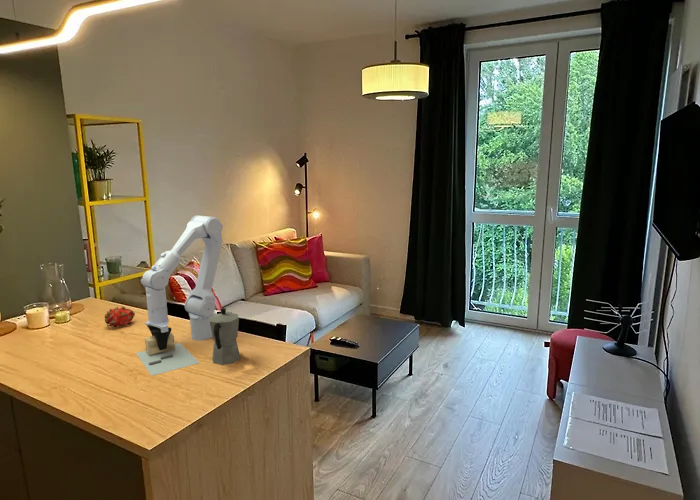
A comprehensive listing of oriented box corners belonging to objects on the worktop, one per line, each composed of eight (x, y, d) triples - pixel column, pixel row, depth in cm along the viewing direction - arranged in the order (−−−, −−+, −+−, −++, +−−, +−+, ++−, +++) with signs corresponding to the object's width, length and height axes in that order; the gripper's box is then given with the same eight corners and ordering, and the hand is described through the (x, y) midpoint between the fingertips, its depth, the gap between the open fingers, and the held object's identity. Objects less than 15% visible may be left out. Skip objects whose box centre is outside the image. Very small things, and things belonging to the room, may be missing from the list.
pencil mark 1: (160, 361, 140) (160, 359, 140) (161, 362, 139) (161, 360, 139) (148, 364, 138) (148, 362, 138) (149, 365, 137) (149, 363, 137)
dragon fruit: (102, 334, 171) (133, 329, 180) (112, 325, 166) (143, 320, 176) (96, 314, 173) (127, 310, 183) (106, 304, 169) (137, 301, 179)
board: (180, 346, 155) (179, 342, 155) (200, 367, 139) (199, 362, 139) (136, 357, 147) (135, 353, 146) (152, 380, 131) (151, 375, 131)
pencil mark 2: (172, 355, 144) (172, 354, 144) (173, 356, 143) (172, 355, 143) (160, 358, 142) (160, 357, 142) (161, 359, 141) (161, 358, 141)
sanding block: (171, 346, 152) (170, 332, 151) (175, 350, 148) (173, 335, 148) (146, 352, 147) (144, 337, 146) (149, 356, 144) (147, 341, 143)
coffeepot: (217, 354, 149) (214, 301, 145) (246, 354, 149) (243, 301, 145) (202, 376, 133) (198, 318, 130) (234, 376, 133) (230, 317, 130)
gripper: (138, 303, 148) (142, 343, 151) (149, 315, 137) (153, 357, 139) (161, 299, 152) (164, 338, 155) (173, 310, 141) (177, 351, 144)
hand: (160, 347), depth 148 cm, fingers closed on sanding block, 4 cm apart
